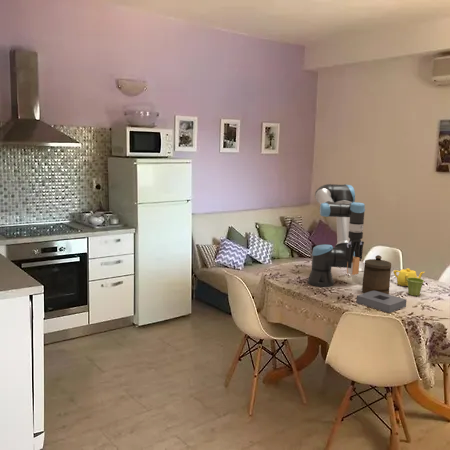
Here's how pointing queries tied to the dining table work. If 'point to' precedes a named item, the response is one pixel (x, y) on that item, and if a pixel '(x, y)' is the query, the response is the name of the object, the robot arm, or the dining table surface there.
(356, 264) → the orange plug
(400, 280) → the teapot
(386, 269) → the wooden container
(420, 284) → the plant pot
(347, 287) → the dining table surface
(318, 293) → the dining table surface
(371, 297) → the socket board
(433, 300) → the dining table surface
